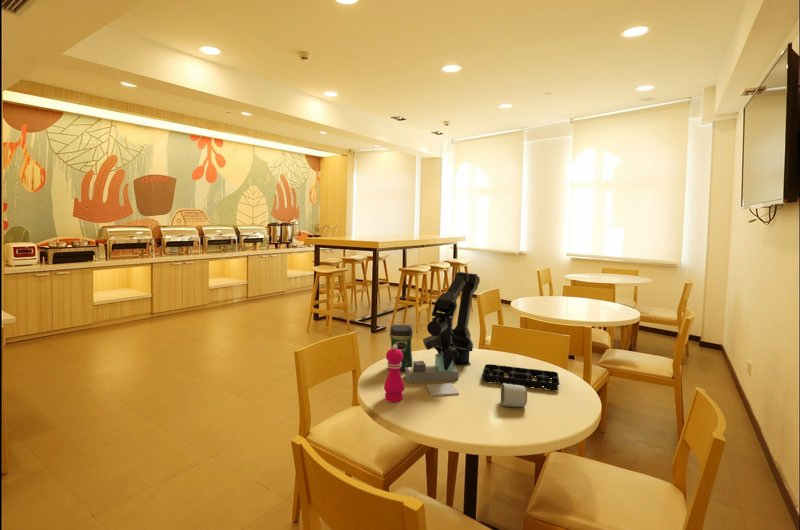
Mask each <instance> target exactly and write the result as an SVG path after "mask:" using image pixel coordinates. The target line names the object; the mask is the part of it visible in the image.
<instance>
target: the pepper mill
mask: <svg viewBox="0 0 800 530" xmlns="http://www.w3.org/2000/svg"><path fill="white" fill-rule="evenodd" d="M392 348H393V349H391V348H390V349H388V350H387V352H386V354H385V359H386V360H387V361H386V362H387V365H386V366H387V368H388V373H387V376H386V378H385V381H384V384H383V389H384V391H385V394H384V395H385V396H384V399H385V401H386V402H388V403H399V402H401V401H403V399H404V393H403V392H404V390H405V383H404V380H403V378H402V376H401V375H402V374H401V371H400V367H401V366H402V365H401V364H402V363H401V361H402V359H403V353H402V351H401V350H399V349H397V345H393V346H392Z"/></svg>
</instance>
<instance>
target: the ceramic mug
mask: <svg viewBox="0 0 800 530" xmlns="http://www.w3.org/2000/svg"><path fill="white" fill-rule="evenodd" d="M527 403H528V390H527V388H526V387H524V386H521V385H513V384H512V383H511V384H505V383H503V384H501V388H500V404H501V406H502V407H509V408H510V407H514V408H523V407H526V405H527Z"/></svg>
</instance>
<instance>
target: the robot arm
mask: <svg viewBox="0 0 800 530" xmlns="http://www.w3.org/2000/svg"><path fill="white" fill-rule="evenodd" d="M480 279H481V278H480V276H479V275H478V274H477V273H470V272H465V271H464V272H463V271H458V272H456V273H455V277H454V279H453V280H452V282H451V284H450V285H449V287H448V289H447V290H446V292H445V293H442V294H440V295H439V297H437V299H436V300H435V303H434V306H433V309H432V313H431V316H432V319H431V321H429V322H428V324H427V327H426V329H427V332H428V334H429V336H427V337H425V338H423V339H422V342H423V345H424V347H425V348H426V350H428V351H429V350H431V349H435V350H436V351H437V354H440V356H441V357H442V358H443V362H444V370H448V368H449V366H450V364H451V362H452V361H453V364H454V365H455V366H465V365H466V366H467V365H468V366H469V365H471V362H470V352H473V350H474V349H473V348H474V343H473V342H472V341H473V340H472V339H471V332H470V330H469V327H468V326H469V321H470V314H471V307H472V301H473V295H474V294H475V292H476V291H477V290H478V287H479V284H480ZM460 294H461V295H460ZM459 296H460V302H459V309H458V314H457V323H456V326H455V327H454V328H453V321H454V320H453V317H455V313H456V310H457V306H458V304H457V300H458V297H459Z"/></svg>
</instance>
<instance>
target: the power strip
mask: <svg viewBox="0 0 800 530" xmlns="http://www.w3.org/2000/svg"><path fill="white" fill-rule="evenodd" d="M412 363H413V366H412V367H406V368H405V371H404V376H405V379H406V378H407V379H406V380H408V381H407V383H408V382H409V383H408V384H411V383H410V382H415V383H428V382H427V381H431V382H439V381H438V380H446V381H455V380H454V379H458V380H459V370H458V369H457V367H456V365H455V364H453V371H443V372H439V371H438V370H437V368H436V367H435V365H429V366H428V365H427V364H426V362H425V361H424V360H415V361H413V360H412ZM454 365H455V366H454Z"/></svg>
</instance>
